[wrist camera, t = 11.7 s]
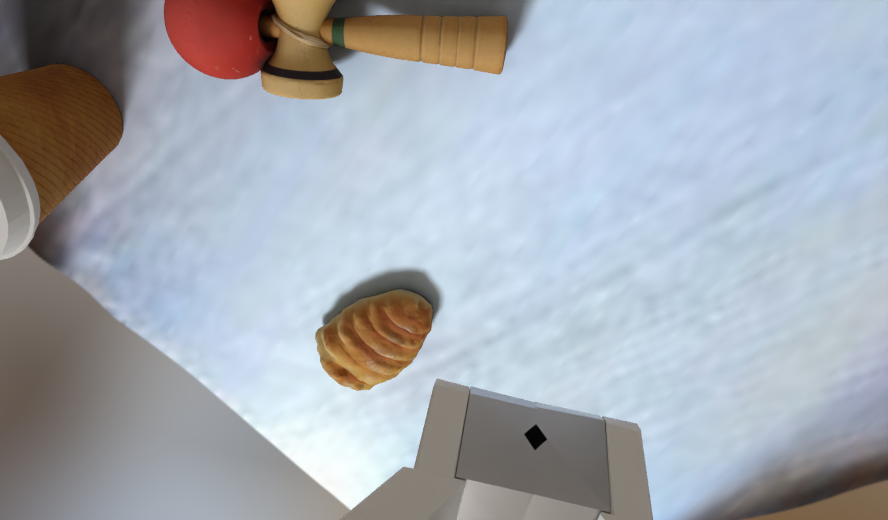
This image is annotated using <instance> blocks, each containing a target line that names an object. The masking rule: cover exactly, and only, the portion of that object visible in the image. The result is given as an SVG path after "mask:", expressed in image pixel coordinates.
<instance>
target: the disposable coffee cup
mask: <svg viewBox="0 0 888 520" xmlns="http://www.w3.org/2000/svg"><path fill="white" fill-rule="evenodd" d="M121 136H122V119H121V114H120V112H119V109H118V107H117V104H116V103H115V101H114V99H113V98H112V96H111V95H110V93H109V92H108V91H107V89H106V88H105V87H104V86H103V85H102V84H101V83H100V82H99V81H97V80H96V79H95V78H94V77H92V76H91V75H90V74H88V73H87V72H85V71H83V70H81V69H79V68H76V67H73V66H71V65H65V64H51V65H48V66H44V67H40V68H36V69H32V70H27V71H23V72H18V73H15V74H10V75H5V76H1V77H0V260H2V259H7V258H11V257H13V256H14V255H16V254H18V253H19V252H21V251H22V250H23V249H24V248H26V247H27V245H28V244H29V242H30V241H31V240H32V238H33V237H34V232H35V230H36V228H37V226H38V224H39V223H40V221H43V219H44V218H45V217H46V215H49V213H50V212H51V211H52V210H53V209H55V207H56V206H57V205H58V204H59V203H60V202H61V201H63V200H64V197H67V195H68V194H69V193H70V192H71V191H72V190H73V189H74V188H75V186H77V185H78V184H79V183H80V182H81V181H83V179H84V178H85V177H86V176H87V175H88V174H89V173H90V172H91V171H92V170H93V169H94V168H95V167H96V166H97V165H98V164H99V163H100V162H101V161H102V160H103V159H104V158H105V157H106V156H107V155H108V154H109V153H110V152H111V151H113V150H114V149H115V147H116V146H117V145H118V143H119V141H120V139H121Z"/></svg>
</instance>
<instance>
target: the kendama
mask: <svg viewBox="0 0 888 520" xmlns="http://www.w3.org/2000/svg"><path fill="white" fill-rule="evenodd" d="M335 1H336V0H165V4H164V20H165V26H166V30H167V33H168V36H169V39H170V41H171V43H172V44H173V46H174V48H175V49H176V51H177V52H178V53H179V55H180V56H181V57H182V58H183V59H184V60H185V61H186V62H187V63H188V64H190V65H191V66H192V67H194V68H195V69H197V70H199V71H200V72H202V73H204V74H207V75H209V76H212V77H216V78H221V79H240V78H244V77H248V76H250V75H253V74H255V73H257V72H259V71H260V70H261V79H262V87H263V88H264V90H266V91H267V92H269V93H271V94H275V95H279V96H285V97H289V98H297V99H327V98H333V97H336V96H338V95H340V94H341V93H342V86H343V75H342V74H341V73H340V72H339V70H338V69H337V68H336V66H335V65H334V63H333V62H332V60H331V58H330V55H329V52H328V48H329V47H330V46H331V45H336V46H339V47H343V48H348V49H352V50H357V51H361V52H366V53H370V54H375V55H380V56H385V57H390V58H396V59H402V60H409V61H416V62H419V61H422V62H424V63H431V64H438V63H439V64H440V65H444V66H451V67H454V66H456V67H458V68H465V69H471V68H473V69H474V70H477V71H482V72H488V73H493V74H501V72H502V70H503V66H504V60H505V55H506V46H507V29H508V26H507V25H508V21H507V18H506V16H479V17H477V18H476V17H474V16H460V17H458V16H443V17H441V16H425V17H423V16H419V15H376V16H361V17H345V18H331V19H328V15H329V12H330V10H331V8H332V6H333V4H334V2H335Z"/></svg>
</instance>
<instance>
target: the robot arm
mask: <svg viewBox="0 0 888 520" xmlns="http://www.w3.org/2000/svg"><path fill="white" fill-rule="evenodd" d="M340 520H653V516H652V509H651V501H650V494H649V487H648V479H647V472H646V465H645V457H644V450H643V443H642V435H641V429H640V428H639V426H638V425H637V424H636V423H631V422H627V421H622V420H617V419H613V418H608V417H601V416H599V415H594V414H589V413H585V412H580V411H575V410H571V409H566V408H561V407H556V406H552V405H547V404H542V403H538V402H531V401H527V400H523V399H519V398H515V397H511V396H507V395H503V394H499V393H495V392H491V391H487V390H483V389H479V388H475V387H470V390H469V387H468V386H464V385H460V384H456V383H452V382H448V381H444V380H440V379H437V380H436V382H435V384H434V387H433V391H432V395H431V399H430V403H429V408H428V412H427V416H426V420H425V424H424V428H423V432H422V437H421V441H420V445H419V449H418V453H417V457H416V462H415V466H414V469H413V468H408V467H402V468H401V469H400V470H399V471H398V472H396V473H395V474H394V475H393V476H392V477H390V478H389V479H388V480H387V481H386V482H384V483H383V484H382V485H381V486H380V487H378V488H377V489H376V490H375V491H374V492H372V493H371V494H370V495H369V496H368V497H366V498H365V499H364V500H363V501H362V502H360V503H359V504H358V505H357V506H356V507H354V508H353V509H352V510H351V511H350V512H348V513H347V514H346V515H345V516H344V517H342V518H341V519H340Z"/></svg>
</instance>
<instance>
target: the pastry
mask: <svg viewBox="0 0 888 520" xmlns="http://www.w3.org/2000/svg"><path fill="white" fill-rule="evenodd" d="M432 314H433V309H432V305H431V304H429V303H428V302H427V301H426V300H425V299H424V298H423V297H421V296H420V295H418V294H416V293H413V292H411V291H408V290H404V289H397V290H391V291H389V292H386V293H382V294H380V295H375V296H371V297H364V298H360V299H358V300H357V301H356V302H355V303H353V304H351V305H349V306H347V307H345V308H344V309H343V310H342V312H340V313H339V314H338V315H336V316H335V317H334V318H332V319H331V320H330V321H329V322H328V324H326V325H324V326H323V327H321V328H319V329H318V330H317V332H316V335H315V339H316V342H317V351H318V353H319V355H320V362H321V365H322V367H323V369H324V370H325V371H326V372H327V373H328V374H329V376H330V377H332V378H333V379H334V380H335V381H336V382H337V383H339V384H340V385H342V386H345V387H350V388H352V389H354V390H357V391H359V390H370V389H371V388H372V387H373V386H375V385H377V384H379V383H382V382H385V381H387V380H390V379H392V378H394V377H396V376H397V375H398V374H399V373H400V372H401V371H402V370H403V369H404V368H406V367H407V366H408V365H410V364H411V363H412V361H413V359H414V358H415V357H416V356H417V354H418V351H419V350H420V349H421V347H422V345H423V342H424V340H425V338H426V336H427V334H428V333H429V332H430V331H431V326H432Z"/></svg>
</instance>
